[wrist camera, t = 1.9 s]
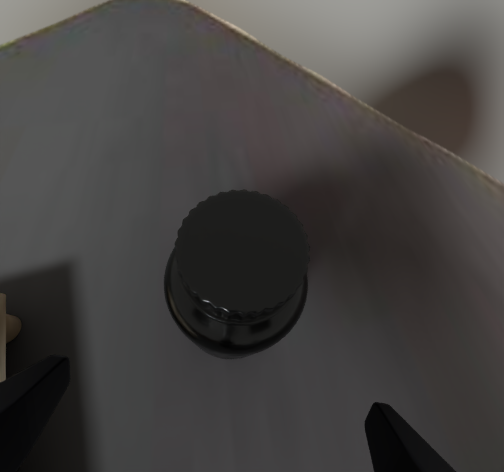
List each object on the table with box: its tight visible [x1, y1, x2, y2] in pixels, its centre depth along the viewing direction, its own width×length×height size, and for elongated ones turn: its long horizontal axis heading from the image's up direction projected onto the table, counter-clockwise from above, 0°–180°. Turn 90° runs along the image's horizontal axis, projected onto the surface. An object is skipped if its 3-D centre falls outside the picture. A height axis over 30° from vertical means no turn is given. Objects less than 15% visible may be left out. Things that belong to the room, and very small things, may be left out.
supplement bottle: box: [164, 190, 310, 359], centre depth 14 cm, size 7×7×12 cm
